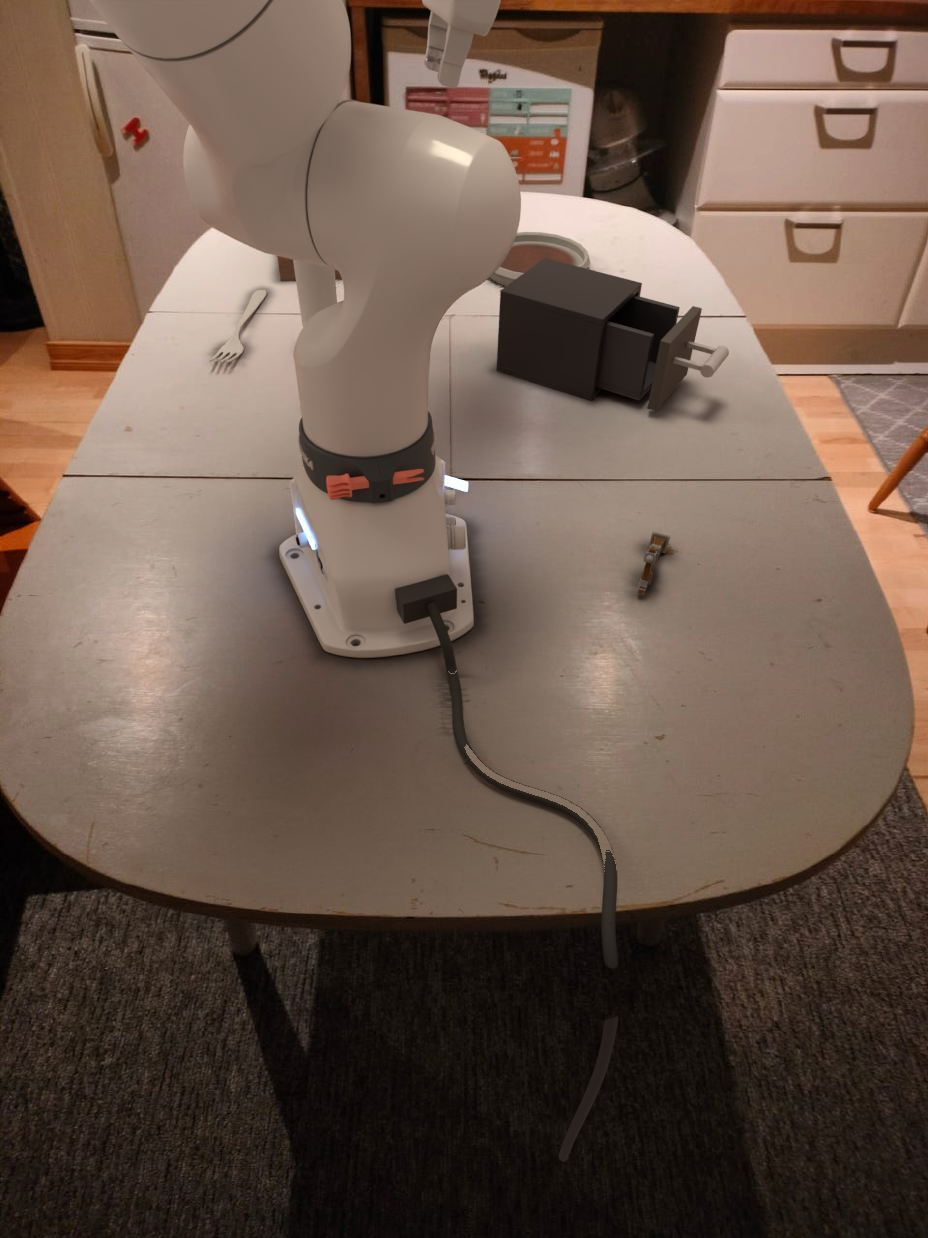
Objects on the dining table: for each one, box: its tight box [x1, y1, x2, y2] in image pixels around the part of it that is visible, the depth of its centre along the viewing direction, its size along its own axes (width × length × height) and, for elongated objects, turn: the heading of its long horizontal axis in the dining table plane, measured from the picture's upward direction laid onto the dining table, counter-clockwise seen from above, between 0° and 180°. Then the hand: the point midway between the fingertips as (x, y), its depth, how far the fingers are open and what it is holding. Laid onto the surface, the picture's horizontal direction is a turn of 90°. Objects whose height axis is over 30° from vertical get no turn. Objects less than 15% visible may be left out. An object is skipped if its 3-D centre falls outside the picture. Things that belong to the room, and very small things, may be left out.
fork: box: [208, 289, 268, 364], centre depth 115 cm, size 3×24×2 cm, turn 177°
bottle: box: [293, 260, 338, 327], centre depth 104 cm, size 5×5×25 cm
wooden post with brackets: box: [637, 531, 671, 595], centre depth 82 cm, size 2×8×4 cm, turn 158°
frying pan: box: [489, 231, 591, 287], centre depth 130 cm, size 17×3×28 cm
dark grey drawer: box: [596, 295, 730, 412], centre depth 103 cm, size 18×10×9 cm, turn 59°
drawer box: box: [496, 258, 643, 401], centre depth 107 cm, size 14×12×11 cm
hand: (439, 77), depth 80 cm, fingers open, 8 cm apart
